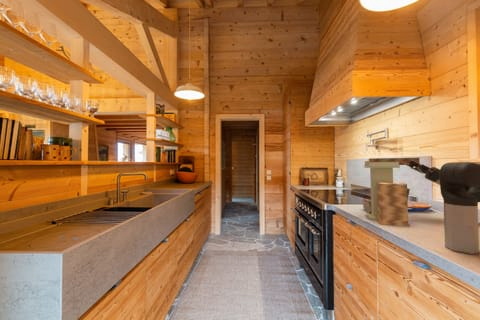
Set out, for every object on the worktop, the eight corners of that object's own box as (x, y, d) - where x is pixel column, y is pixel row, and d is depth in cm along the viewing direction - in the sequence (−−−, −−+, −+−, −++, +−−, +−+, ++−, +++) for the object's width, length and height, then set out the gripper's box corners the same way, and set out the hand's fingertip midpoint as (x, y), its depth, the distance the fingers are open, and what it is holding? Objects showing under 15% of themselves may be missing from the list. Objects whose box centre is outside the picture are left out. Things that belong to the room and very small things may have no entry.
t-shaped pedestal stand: (395, 218, 130) (394, 160, 130) (401, 222, 120) (399, 160, 121) (365, 216, 135) (364, 161, 136) (368, 219, 126) (367, 161, 127)
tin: (375, 214, 139) (375, 201, 139) (370, 214, 140) (370, 201, 140) (366, 209, 154) (366, 197, 154) (362, 209, 154) (361, 197, 154)
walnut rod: (416, 164, 124) (416, 157, 124) (419, 164, 120) (419, 157, 120) (368, 165, 133) (368, 158, 133) (370, 165, 129) (370, 158, 129)
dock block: (403, 222, 120) (402, 182, 120) (409, 226, 112) (408, 184, 112) (376, 220, 125) (375, 182, 125) (380, 224, 116) (379, 183, 117)
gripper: (441, 183, 113) (408, 168, 118) (428, 181, 126) (399, 167, 132) (449, 171, 112) (416, 156, 117) (436, 170, 125) (406, 156, 130)
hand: (407, 162), depth 124 cm, fingers open, 8 cm apart
